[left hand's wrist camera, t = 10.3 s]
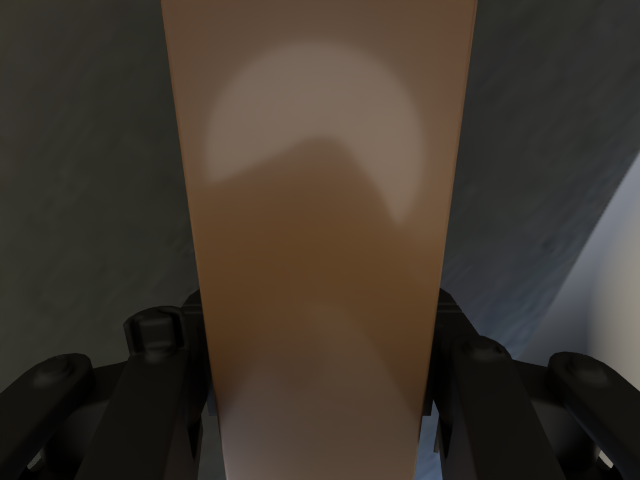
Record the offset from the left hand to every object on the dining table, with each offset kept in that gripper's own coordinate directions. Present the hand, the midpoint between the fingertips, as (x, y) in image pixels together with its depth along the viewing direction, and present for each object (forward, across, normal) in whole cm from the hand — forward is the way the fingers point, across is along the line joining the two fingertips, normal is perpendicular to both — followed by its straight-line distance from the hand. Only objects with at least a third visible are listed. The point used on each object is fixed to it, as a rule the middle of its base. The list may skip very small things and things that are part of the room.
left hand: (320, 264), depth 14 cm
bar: (+1, 0, -25) cm, 25 cm away
